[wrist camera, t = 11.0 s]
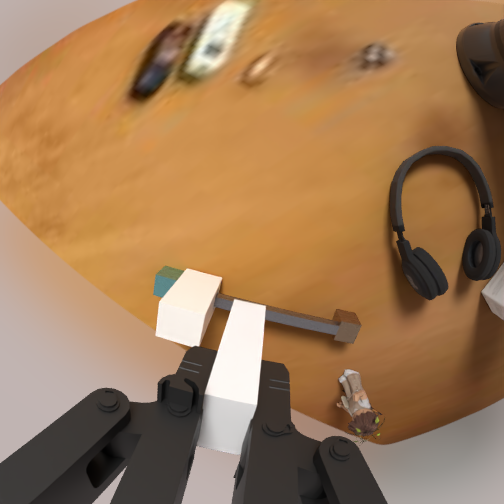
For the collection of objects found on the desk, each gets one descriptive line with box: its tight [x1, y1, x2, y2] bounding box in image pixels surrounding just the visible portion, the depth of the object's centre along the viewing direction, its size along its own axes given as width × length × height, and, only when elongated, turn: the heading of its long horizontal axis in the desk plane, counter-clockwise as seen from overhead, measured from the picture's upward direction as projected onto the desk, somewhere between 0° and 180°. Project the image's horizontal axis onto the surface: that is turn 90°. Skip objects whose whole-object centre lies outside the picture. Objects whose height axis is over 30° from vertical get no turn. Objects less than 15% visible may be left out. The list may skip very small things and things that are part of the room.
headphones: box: [390, 146, 501, 300], centre depth 34 cm, size 17×8×20 cm
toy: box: [337, 369, 385, 443], centre depth 37 cm, size 6×6×15 cm
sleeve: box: [156, 268, 222, 347], centre depth 36 cm, size 5×4×11 cm
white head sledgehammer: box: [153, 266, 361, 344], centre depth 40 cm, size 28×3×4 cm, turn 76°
